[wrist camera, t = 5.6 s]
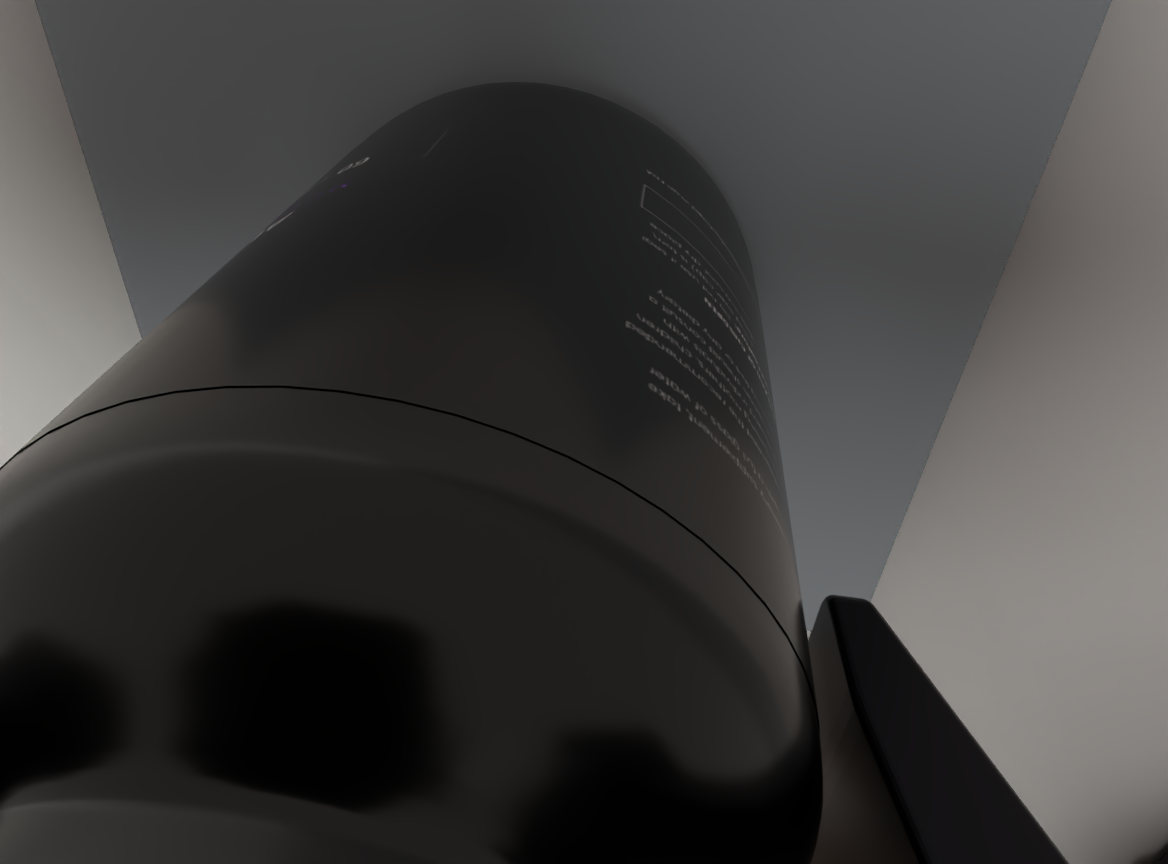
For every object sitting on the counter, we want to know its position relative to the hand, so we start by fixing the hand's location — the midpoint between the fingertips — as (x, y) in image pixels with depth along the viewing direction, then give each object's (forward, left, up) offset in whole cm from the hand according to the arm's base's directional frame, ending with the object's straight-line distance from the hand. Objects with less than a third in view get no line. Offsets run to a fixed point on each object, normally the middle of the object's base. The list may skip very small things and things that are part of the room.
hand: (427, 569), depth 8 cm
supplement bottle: (0, 0, -6) cm, 6 cm away
